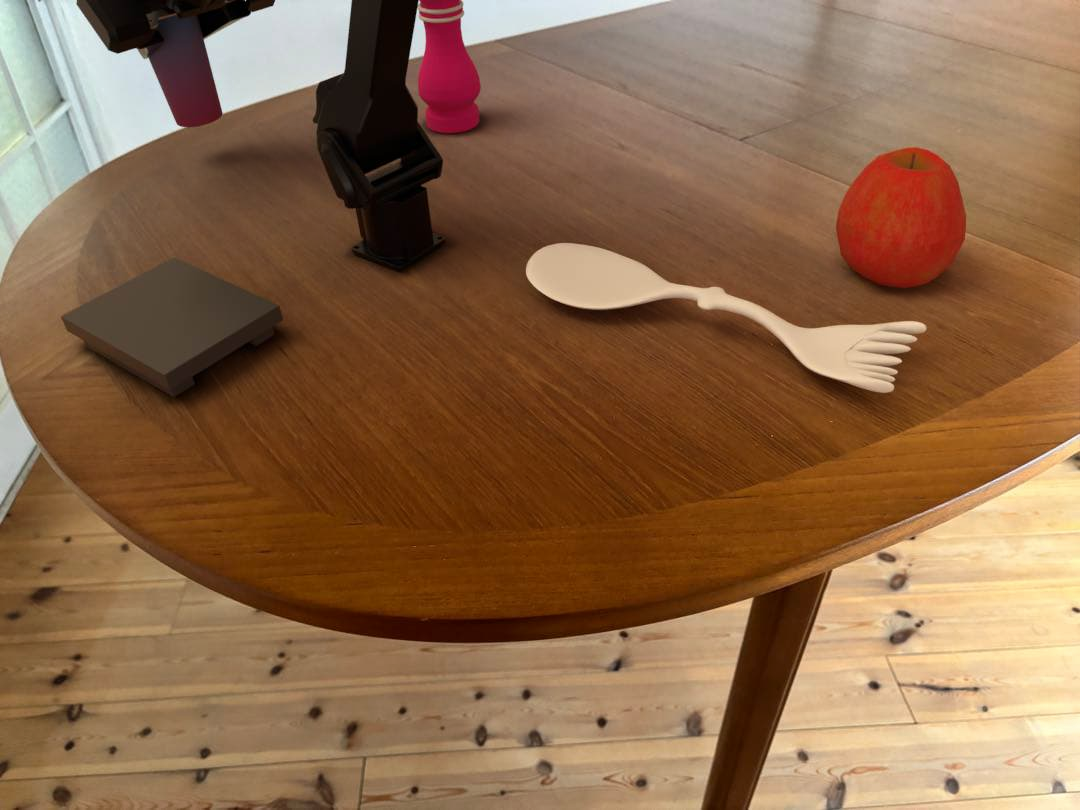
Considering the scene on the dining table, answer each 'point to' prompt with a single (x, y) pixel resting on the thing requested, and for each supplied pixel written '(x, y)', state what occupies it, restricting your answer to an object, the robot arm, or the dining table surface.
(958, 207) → the apple
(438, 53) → the pepper mill
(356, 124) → the robot arm
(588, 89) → the dining table surface
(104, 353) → the grey footed tile
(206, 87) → the cup
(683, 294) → the spoon
